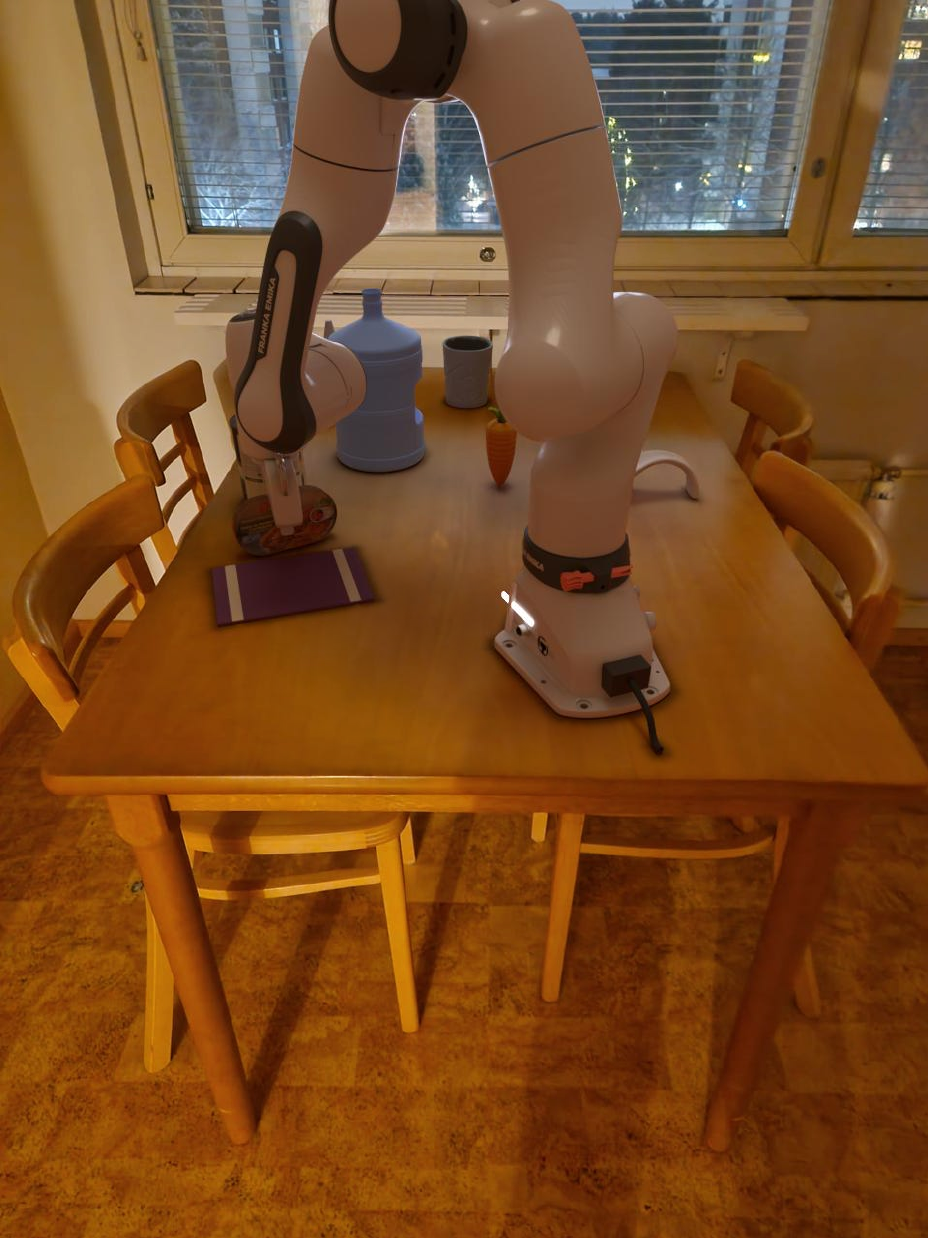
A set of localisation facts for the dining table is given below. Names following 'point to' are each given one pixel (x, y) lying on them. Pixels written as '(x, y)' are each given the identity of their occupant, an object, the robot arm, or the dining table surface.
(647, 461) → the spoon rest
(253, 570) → the cloth
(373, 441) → the water jug
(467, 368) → the grey cup
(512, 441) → the carrot
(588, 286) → the robot arm
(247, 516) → the tin
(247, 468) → the coffee can
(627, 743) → the dining table surface
